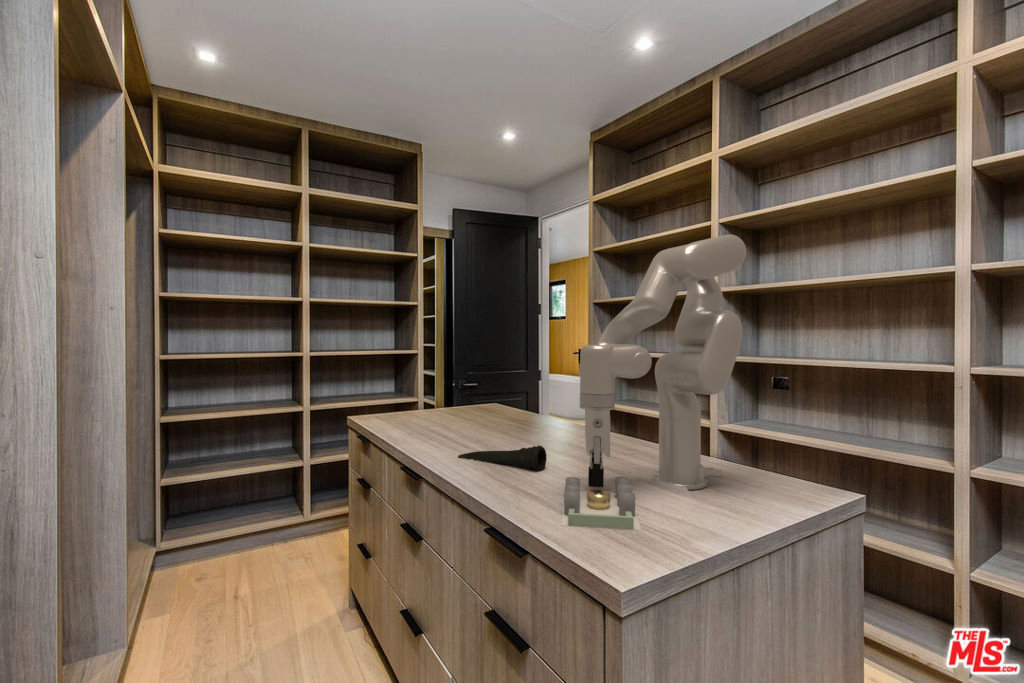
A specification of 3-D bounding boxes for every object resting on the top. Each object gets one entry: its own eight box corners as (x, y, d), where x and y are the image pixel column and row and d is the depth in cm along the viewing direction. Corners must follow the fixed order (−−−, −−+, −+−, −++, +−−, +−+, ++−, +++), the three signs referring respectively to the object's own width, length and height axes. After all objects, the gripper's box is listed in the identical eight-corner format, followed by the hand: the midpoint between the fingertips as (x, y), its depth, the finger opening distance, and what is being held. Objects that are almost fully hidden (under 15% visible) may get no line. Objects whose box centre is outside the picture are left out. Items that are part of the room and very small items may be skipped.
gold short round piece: (609, 502, 98) (609, 489, 98) (610, 510, 93) (611, 497, 93) (586, 501, 98) (586, 488, 98) (587, 509, 94) (587, 495, 94)
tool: (549, 469, 129) (549, 444, 129) (536, 474, 124) (536, 448, 124) (471, 454, 145) (471, 432, 145) (456, 458, 140) (457, 435, 140)
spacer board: (629, 498, 104) (630, 474, 104) (641, 536, 84) (641, 507, 84) (565, 495, 106) (565, 472, 106) (561, 531, 86) (561, 502, 86)
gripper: (617, 406, 96) (615, 498, 96) (612, 398, 111) (611, 477, 111) (579, 405, 97) (578, 495, 97) (579, 397, 112) (578, 475, 112)
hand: (595, 485), depth 104 cm, fingers closed
